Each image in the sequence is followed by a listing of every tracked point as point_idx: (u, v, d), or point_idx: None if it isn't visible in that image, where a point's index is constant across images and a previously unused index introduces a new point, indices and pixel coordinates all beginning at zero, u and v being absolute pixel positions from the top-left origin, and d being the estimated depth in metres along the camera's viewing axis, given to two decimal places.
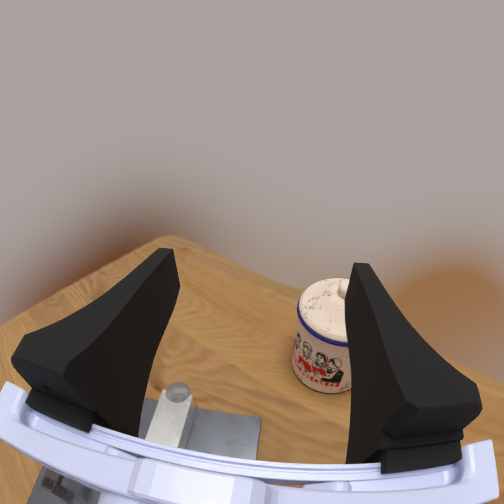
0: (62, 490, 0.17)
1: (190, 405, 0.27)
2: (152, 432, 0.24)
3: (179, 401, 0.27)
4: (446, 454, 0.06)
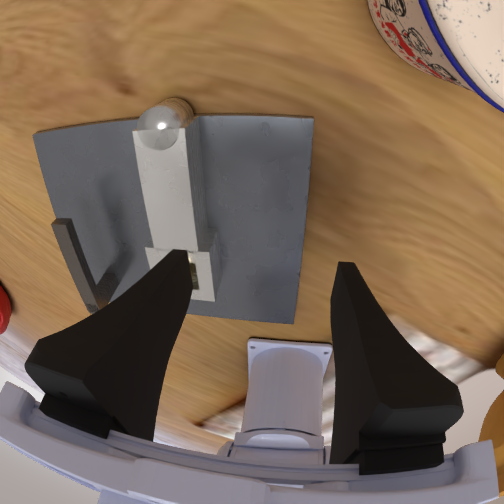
0: (106, 295, 0.25)
1: (187, 145, 0.16)
2: (152, 208, 0.18)
3: (167, 146, 0.16)
4: (427, 457, 0.06)
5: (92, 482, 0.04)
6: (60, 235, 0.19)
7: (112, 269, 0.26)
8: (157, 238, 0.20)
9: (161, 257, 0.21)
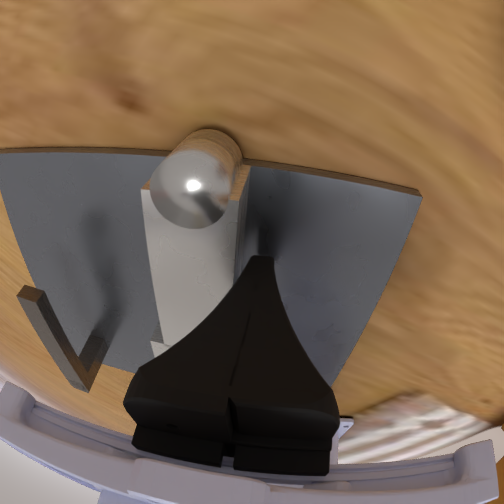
0: (93, 368, 0.18)
1: (237, 226, 0.10)
2: (166, 302, 0.12)
3: (202, 224, 0.10)
4: (309, 463, 0.06)
5: (92, 482, 0.04)
6: (30, 311, 0.12)
7: (100, 333, 0.19)
8: (170, 335, 0.13)
9: None
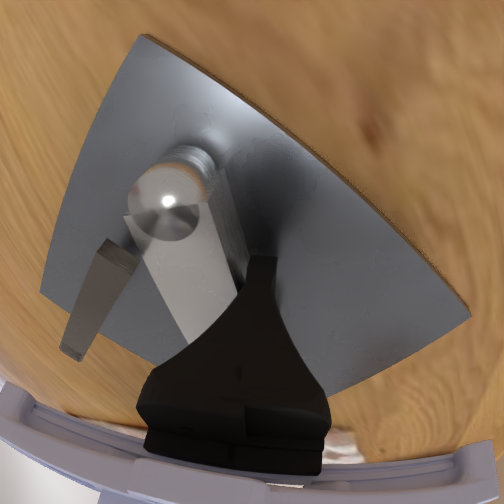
0: None
1: (218, 227, 0.10)
2: (183, 317, 0.13)
3: (185, 234, 0.10)
4: (301, 463, 0.06)
5: (92, 482, 0.04)
6: (102, 276, 0.10)
7: None
8: None
9: None
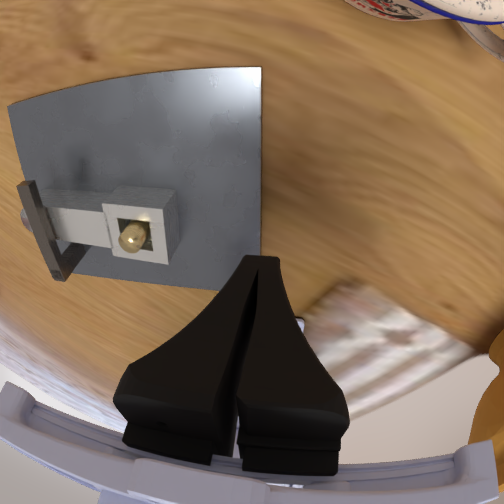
0: (70, 262, 0.24)
1: None
2: (77, 238, 0.21)
3: None
4: (318, 464, 0.06)
5: (92, 482, 0.04)
6: (24, 196, 0.18)
7: None
8: (101, 242, 0.21)
9: (119, 245, 0.21)
